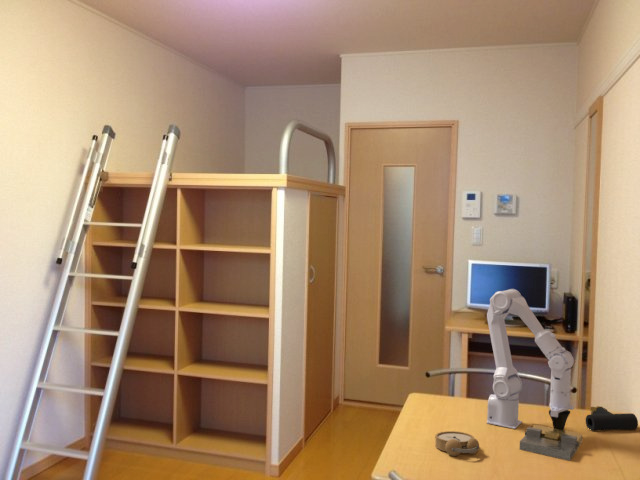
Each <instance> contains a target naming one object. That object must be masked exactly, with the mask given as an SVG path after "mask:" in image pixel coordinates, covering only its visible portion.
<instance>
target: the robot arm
mask: <svg viewBox="0 0 640 480" xmlns="http://www.w3.org/2000/svg"><path fill="white" fill-rule="evenodd" d="M521 294H522V293H520V291H519V290H517V289H515V288H509V289H506V290H499V291H498V290H497V291H496V292H495V293H494V294H493V295H492V296H491V297H490V298H489V306H488V309H487V313H486V320H487V324H488V329H489V331H488V332H489V337H490V341H491V346H492V347H491V348H492V351H493V352H492V353H493V357H494V359H493V360H494V363H495V371H494V374H493V376H492V377H493V382H492V383H493V384H492V391H493V394H489V397H488V400H487V417H486V424H488V425H489V424H490V425H495V426H499V427H504V428H510V429H514V430H516V429H517V427H519V426H520V425H521V424H522V423H523V421H522V420H519V407H520V406H519V405H520V401H519V398H520V396H519V393H520V392H521V391H522V389H523V382H522V379H521V378H520V376H519V373H518V370H517V369H516V368H515V367H514V365H513V359H512V354H511V349H510V343H509V337H508V333H507V326H506V321H505V319H506V317H507V316H508V315H509V314H511V315H513V316H514V315H515V316H518V317H519V318H520V319H521V321H522V322H523V323H524V325H526V326H527V328H528V329H529V330H530V332H531V333H532V335H534V343H535V344H536V345H537V346H538V349H540V351H541V352H542V353H543V355H544V356H545V358H547V360H548V361H547V364H548V367H549V368H550V372H551V373H550V393H549V394H550V396H549V397H550V398H549V403H548V404H549V405H548V406H549V410H548V415H549V416H550V417H549V418H550V419H551V422H552V426H553V427H552V428H555V429H560V430H565V426H566V424H567V420H568V418H569V415H570V414H571V411H573V410H574V409H575V407H574V405H571V404H570V403H571V383H572V382H571V377H572V376H571V375H572V369H571V368H572V367H573V365H574V363H575V359H574V357H573V355H572V354H573V353H572V352H570V351H568V350H566V348H565V347H564V346H562V345H561V343H560V342H559V341H558V340H557V335H556V334H555V333H552V331H550V330H546V329H544V327H543V326H542V324H541V323H540V321H539V320H538V319H537V317H536V315H535V314H534V313H533V311H532V310H531V308H530V306H529V305H528V303H527V300H526V299H525V297H524V296H522V295H521Z"/></svg>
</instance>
